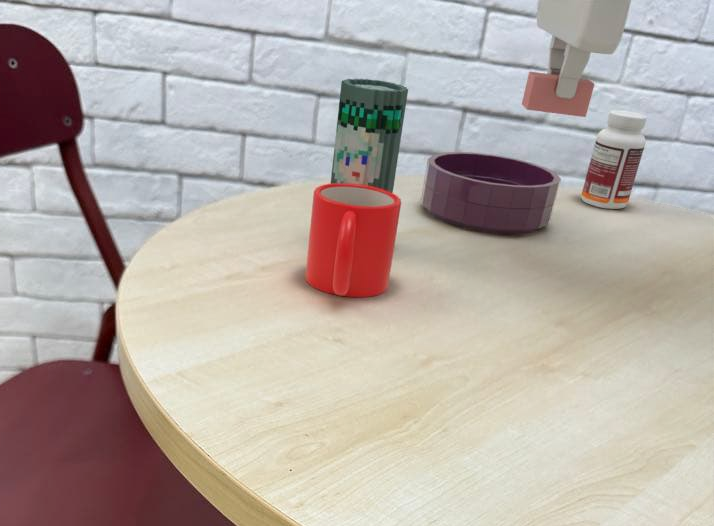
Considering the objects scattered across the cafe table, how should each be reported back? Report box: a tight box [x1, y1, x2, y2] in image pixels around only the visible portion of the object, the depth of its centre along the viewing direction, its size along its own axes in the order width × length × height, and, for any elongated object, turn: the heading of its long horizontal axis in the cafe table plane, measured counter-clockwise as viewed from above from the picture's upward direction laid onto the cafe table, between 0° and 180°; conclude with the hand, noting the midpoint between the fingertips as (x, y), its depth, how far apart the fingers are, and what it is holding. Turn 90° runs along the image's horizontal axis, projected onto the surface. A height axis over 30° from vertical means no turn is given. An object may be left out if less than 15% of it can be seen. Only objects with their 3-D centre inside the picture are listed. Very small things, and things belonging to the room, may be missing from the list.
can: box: [330, 78, 409, 194], centre depth 85 cm, size 6×6×15 cm
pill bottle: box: [580, 109, 648, 210], centre depth 111 cm, size 6×6×11 cm
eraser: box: [521, 71, 596, 118], centre depth 85 cm, size 6×3×3 cm, turn 89°
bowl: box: [420, 151, 562, 235], centre depth 102 cm, size 16×16×6 cm
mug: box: [305, 183, 402, 298], centre depth 76 cm, size 8×12×8 cm, turn 174°
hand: (558, 93), depth 85 cm, fingers closed on eraser, 3 cm apart
